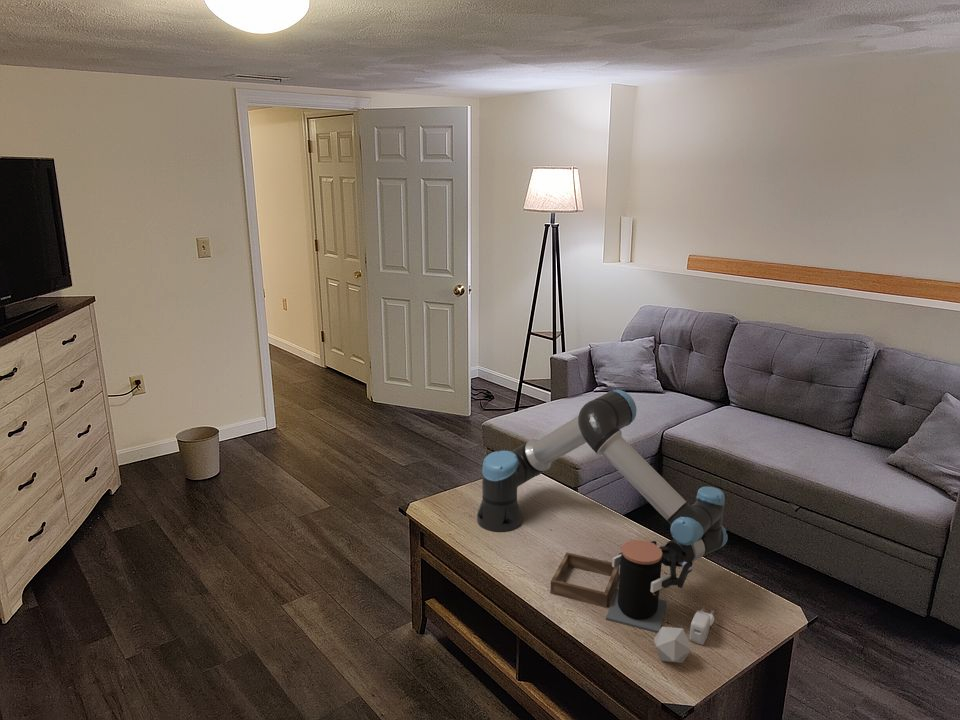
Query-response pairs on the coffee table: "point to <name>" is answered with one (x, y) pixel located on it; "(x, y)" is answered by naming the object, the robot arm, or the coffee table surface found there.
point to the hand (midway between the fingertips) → (631, 574)
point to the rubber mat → (646, 624)
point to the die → (672, 644)
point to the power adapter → (701, 626)
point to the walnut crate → (582, 592)
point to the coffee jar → (639, 579)
